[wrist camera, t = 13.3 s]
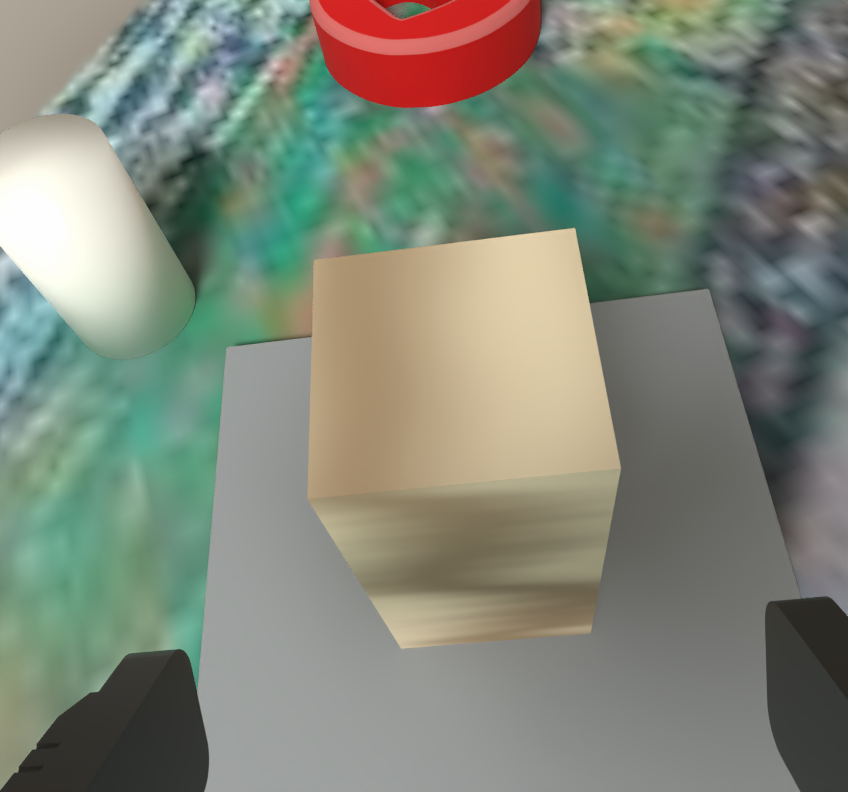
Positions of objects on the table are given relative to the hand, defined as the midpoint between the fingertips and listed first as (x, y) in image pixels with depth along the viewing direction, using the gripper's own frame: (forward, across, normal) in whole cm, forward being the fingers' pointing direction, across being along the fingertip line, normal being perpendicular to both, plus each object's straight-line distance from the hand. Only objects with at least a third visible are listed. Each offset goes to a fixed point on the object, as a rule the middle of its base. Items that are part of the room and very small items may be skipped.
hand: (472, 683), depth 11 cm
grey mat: (+12, 0, +4) cm, 12 cm away
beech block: (+11, 0, +3) cm, 12 cm away
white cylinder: (+19, +12, -4) cm, 23 cm away
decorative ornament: (+29, 0, -13) cm, 32 cm away
